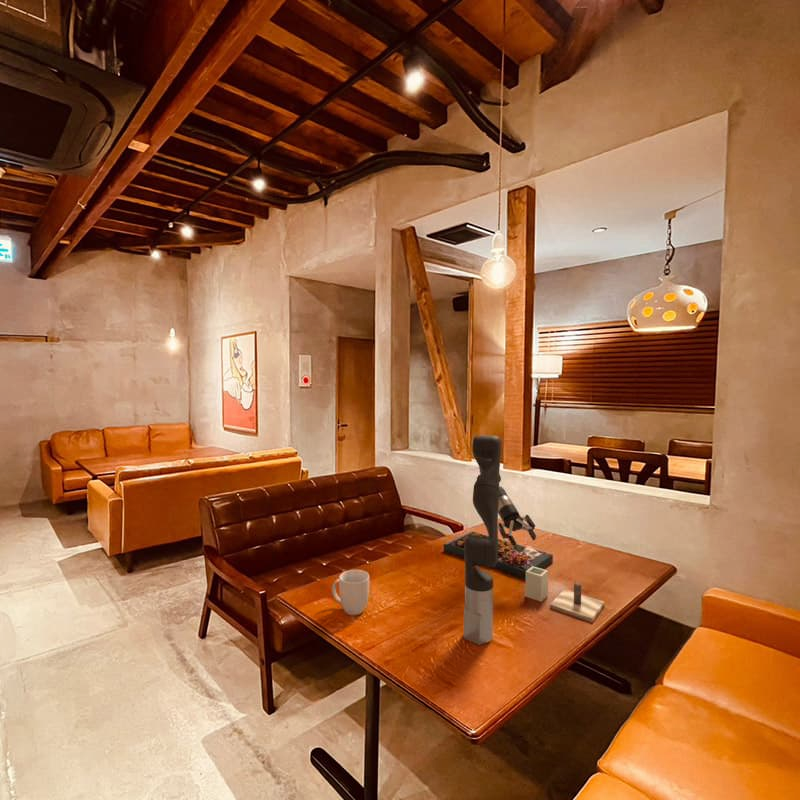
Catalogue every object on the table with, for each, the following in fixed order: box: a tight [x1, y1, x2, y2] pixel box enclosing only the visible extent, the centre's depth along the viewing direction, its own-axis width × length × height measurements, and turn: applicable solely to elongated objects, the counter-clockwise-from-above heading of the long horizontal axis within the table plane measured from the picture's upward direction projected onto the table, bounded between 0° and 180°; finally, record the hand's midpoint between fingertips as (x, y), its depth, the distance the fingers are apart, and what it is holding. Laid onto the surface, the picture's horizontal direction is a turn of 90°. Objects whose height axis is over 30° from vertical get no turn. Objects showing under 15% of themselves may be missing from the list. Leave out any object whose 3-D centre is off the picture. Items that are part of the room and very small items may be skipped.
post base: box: [549, 582, 605, 623], centre depth 162 cm, size 15×15×8 cm
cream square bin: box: [524, 566, 549, 602], centre depth 170 cm, size 6×6×10 cm
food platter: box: [443, 531, 554, 581], centre depth 208 cm, size 45×25×10 cm, turn 46°
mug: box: [331, 569, 370, 616], centre depth 160 cm, size 15×11×13 cm
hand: (525, 542), depth 172 cm, fingers open, 8 cm apart
